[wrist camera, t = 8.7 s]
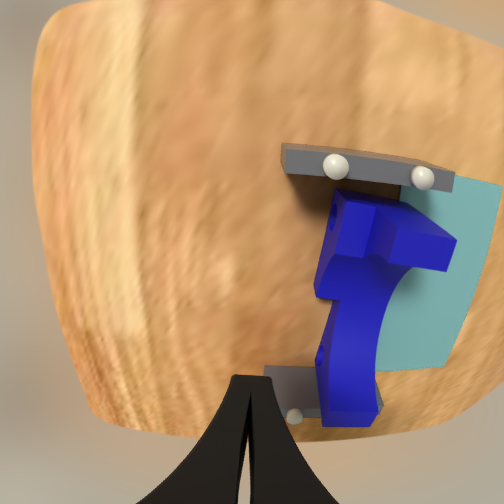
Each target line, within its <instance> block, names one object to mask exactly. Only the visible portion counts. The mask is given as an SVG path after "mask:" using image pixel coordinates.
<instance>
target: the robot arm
mask: <svg viewBox="0 0 504 504" xmlns="http://www.w3.org/2000/svg"><path fill="white" fill-rule="evenodd" d="M247 438H248V441H249V462H250V486H251V487H250V489H251V490H250V492H251V494H250V504H339V503H338V502H337V501H336V500H335V499H334V498H333V497H332V496H331V494H330V493H329V492H328V491H327V489H326V488H325V487H324V486H323V484H322V483H321V482H320V481H319V479H318V478H317V477H316V475H315V474H314V472H313V471H312V470H311V468H310V467H309V465H308V464H307V462H306V461H305V459H304V457H303V456H302V454H301V452H300V451H299V449H298V447H297V445H296V443H295V441H294V439H293V437H292V435H291V433H290V431H289V429H288V427H287V425H286V422H285V420H284V418H283V415H282V413H281V410H280V408H279V405H278V402H277V399H276V395H275V392H274V388H273V383H272V378H271V377H269V376H253V375H237V374H235V375H233V376H232V377H231V381H230V384H229V387H228V389H227V392H226V394H225V396H224V399H223V401H222V403H221V405H220V407H219V409H218V410H217V412H216V414H215V416H214V418H213V420H212V421H211V423H210V424H209V426H208V428H207V429H206V431H205V432H204V434H203V435H202V437H201V438H200V440H199V441H198V442H197V444H196V445H195V447H194V448H193V449H192V451H191V452H190V453H189V454H188V455H187V457H186V458H185V459H184V460H183V461H182V462H181V463H180V465H179V466H178V467H177V468H176V469H175V470H174V471H173V472H172V473H171V474H170V475H169V476H168V477H167V478H166V479H165V480H164V481H163V482H162V483H161V484H160V485H159V486H157V487H156V488H155V489H154V490H153V491H152V492H151V493H149V494H148V495H147V496H146V497H145V498H143V499H142V500H140V501H139V502H138V503H136V504H238V492H239V484H240V478H241V473H242V467H243V461H244V456H245V450H246V444H247Z"/></svg>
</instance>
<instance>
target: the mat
mask: <svg viewBox="0 0 504 504" xmlns="http://www.w3.org/2000/svg"><path fill="white" fill-rule="evenodd" d="M501 192H502V186H500V185H496V184H492V183H487V182H483V181H479V180H474V179H470V178H465V177H461V176H456V175H455V178H454V184H453V190H452V193H449V192H443V191H437V190H431V189H428V190H425V191H424V190H420V189H418V188H416V187H411V186H404V185H401V190H400V197H399V201H402V202H406V203H408V204H410V205H411V206H413V207H414V208H415V209H417V210H418V211H420V212H421V213H422V214H424V215H425V216H426V217H428V218H429V219H431V220H432V221H433V222H435V223H436V224H437V225H439V226H440V227H441V228H443V229H444V230H445V231H447V232H448V233H449V234H450V235H452V236H453V237H454V238H456V239H457V243H456V246H455V249H454V252H453V255H452V258H451V261H450V264H449V267H448V270H447V272H442V271H436V270H429V269H423V268H417V267H413V268H411V269H410V270H409V271H408V272H407V273H406V274H405V275H404V276H403V277H402V279H401V280H400V281H399V283H398V284H397V286H396V288H395V290H394V292H393V294H392V296H391V298H390V300H389V303H388V305H387V308H386V311H385V314H384V317H383V321H382V325H381V329H380V333H379V338H378V344H377V352H376V362H375V372H381V371H398V370H412V369H424V368H434V367H444V365H445V363H446V361H447V359H448V357H449V354H450V352H451V350H452V348H453V346H454V344H455V341H456V339H457V337H458V334H459V332H460V330H461V327H462V325H463V322H464V320H465V317H466V315H467V312H468V310H469V307H470V304H471V302H472V299H473V296H474V293H475V290H476V287H477V284H478V281H479V278H480V275H481V272H482V269H483V266H484V262H485V259H486V256H487V252H488V249H489V245H490V241H491V237H492V233H493V229H494V225H495V221H496V216H497V212H498V207H499V202H500V197H501Z"/></svg>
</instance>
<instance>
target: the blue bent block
mask: <svg viewBox="0 0 504 504" xmlns="http://www.w3.org/2000/svg"><path fill="white" fill-rule="evenodd" d="M456 243H457V239H456V238H454V237H453V236H452V235H450V234H449V233H448V232H447V231H445V230H444V229H443V228H441V227H440V226H439V225H437V224H436V223H435V222H433V221H432V220H431V219H429V218H428V217H426V216H425V215H424V214H422V213H421V212H420V211H418V210H417V209H415V208H414V207H413V206H411V205H410V204H408V203H406V202H402V201H397V200H393V199H388V198H383V197H379V196H374V195H369V194H364V193H359V192H354V191H349V190H344V189H339V188H335V189H334V194H333V199H332V204H331V209H330V214H329V219H328V223H327V228H326V233H325V237H324V242H323V246H322V251H321V255H320V259H319V264H318V268H317V272H316V276H315V280H314V284H313V285H314V290H315V294H316V297H318V298H325V299H333V303H332V307H331V310H330V313H329V317H328V320H327V323H326V326H325V330H324V333H323V336H322V339H321V342H320V345H319V348H318V351H317V355H316V358H315V367H316V375H317V383H318V392H319V400H320V409H321V419H322V427H370V426H371V424H372V422H373V421H374V419H375V418H376V416H377V414H378V413H379V410H378V406H377V400H376V391H375V362H376V352H377V344H378V338H379V333H380V329H381V325H382V321H383V317H384V314H385V311H386V308H387V305H388V303H389V300H390V298H391V296H392V294H393V292H394V290H395V288H396V286H397V284H398V283H399V281H400V280H401V279H402V277H403V276H404V275H405V274H406V273H407V272H408V271H409V270H410V269H411V268H413V267H417V268H423V269H429V270H436V271H442V272H447V270H448V267H449V264H450V261H451V258H452V255H453V252H454V249H455V246H456Z"/></svg>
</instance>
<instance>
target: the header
mask: <svg viewBox="0 0 504 504" xmlns="http://www.w3.org/2000/svg"><path fill="white" fill-rule="evenodd" d="M281 164H282V167H283V170H284V173H289V174H303V175H315V176H326V177H330V178H331V179H334V180H339V179H342V178H347V179H356V180H365V181H373V182H381V183H389V184H397V185H404V186H411V187H416V188H418V189H420V190H424V191H425V190H428V189H431V190H437V191H443V192H449V193H452V190H453V184H454V178H455V172H453V171H450V170H447V169H445V168H442V167H439V166H436V165H433V164H430V163H427V162H424V161H421V160H417V159H411V158H405V157H399V156H393V155H387V154H380V153H373V152H366V151H359V150H351V149H342V148H334V147H324V146H314V145H303V144H290V143H282V147H281ZM264 376H269V377H271V378H272V383H273V388H274V392H275V395H276V399H277V402H278V405H279V408H280V410H281V413H282V415H283V417H284V418H287V422H288V423H289V424H292V425H296V424H299V423H301V422H302V421H303V418H321V409H320V400H319V392H318V383H317V375H316V367H287V366H264ZM375 391H376V400H377V406H378V410H379V413H378V414H380V412H381V410H382V408H383V406H384V404H383V401H382V398H381V395H380V392H379V389H378V386H377V383H376V380H375ZM378 414H377V415H378Z"/></svg>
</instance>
